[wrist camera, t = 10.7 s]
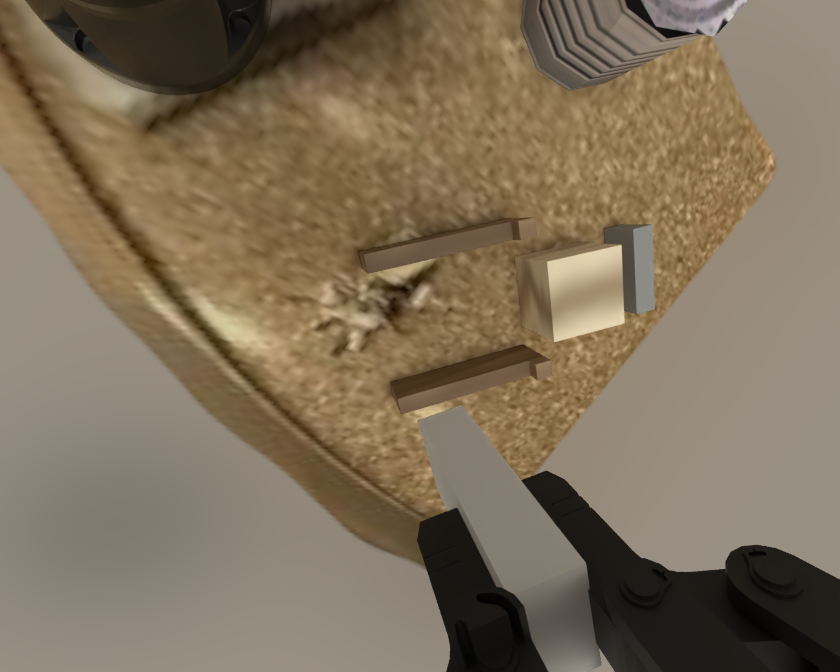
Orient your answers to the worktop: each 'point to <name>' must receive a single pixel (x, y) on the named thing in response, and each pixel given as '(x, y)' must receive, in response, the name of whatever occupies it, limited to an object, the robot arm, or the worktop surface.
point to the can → (613, 34)
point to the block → (571, 289)
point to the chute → (474, 371)
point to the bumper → (635, 265)
